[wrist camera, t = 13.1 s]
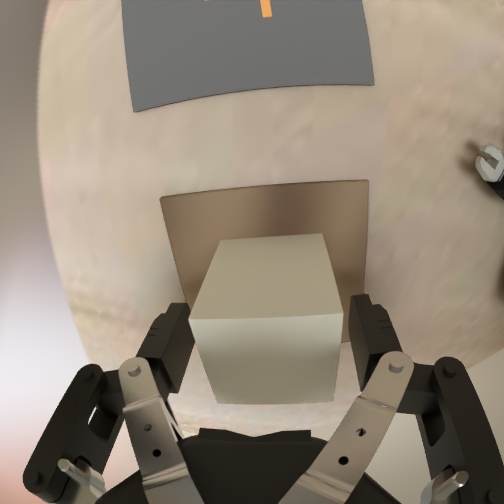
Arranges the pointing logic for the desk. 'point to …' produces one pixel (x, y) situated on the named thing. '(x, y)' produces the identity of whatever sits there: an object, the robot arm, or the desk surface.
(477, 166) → the robot toy
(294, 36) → the mat
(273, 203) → the walnut board
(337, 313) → the white block
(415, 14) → the desk surface
